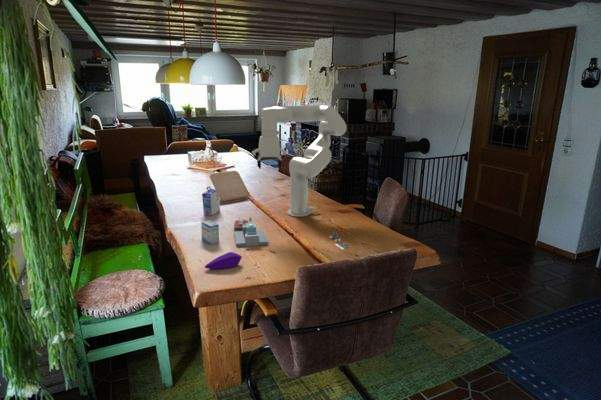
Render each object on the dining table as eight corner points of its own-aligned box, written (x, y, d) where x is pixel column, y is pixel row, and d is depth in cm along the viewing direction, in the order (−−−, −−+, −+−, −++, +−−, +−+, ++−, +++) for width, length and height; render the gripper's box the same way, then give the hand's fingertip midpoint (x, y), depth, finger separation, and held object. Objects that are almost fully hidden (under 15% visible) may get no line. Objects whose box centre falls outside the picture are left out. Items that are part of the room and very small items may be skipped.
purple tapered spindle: (202, 259, 154) (239, 248, 160) (204, 270, 155) (240, 259, 162) (205, 264, 150) (243, 253, 156) (207, 275, 151) (244, 264, 158)
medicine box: (201, 239, 182) (200, 221, 180) (210, 237, 185) (209, 219, 183) (211, 244, 177) (210, 226, 174) (219, 242, 180) (219, 224, 177)
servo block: (253, 235, 189) (253, 219, 187) (256, 243, 179) (256, 227, 177) (245, 235, 188) (245, 219, 186) (247, 244, 178) (247, 227, 176)
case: (221, 205, 234) (220, 178, 229) (204, 196, 249) (203, 171, 245) (250, 200, 246) (250, 174, 242) (233, 192, 262) (233, 168, 257)
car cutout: (324, 239, 188) (325, 230, 187) (337, 237, 191) (337, 228, 190) (341, 251, 175) (342, 241, 174) (354, 248, 178) (355, 239, 177)
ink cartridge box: (211, 209, 225) (210, 184, 220) (220, 210, 223) (219, 185, 219) (202, 214, 215) (201, 188, 211) (211, 216, 214) (211, 189, 210)
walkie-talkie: (252, 234, 191) (252, 220, 210) (252, 225, 190) (252, 212, 209) (233, 234, 190) (235, 220, 209) (233, 226, 189) (235, 212, 208)
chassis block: (263, 232, 192) (263, 223, 191) (268, 244, 178) (268, 235, 177) (234, 234, 189) (234, 225, 188) (236, 246, 175) (236, 237, 174)
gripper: (285, 132, 201) (284, 166, 206) (250, 132, 197) (251, 166, 202) (288, 134, 194) (287, 169, 199) (252, 134, 190) (252, 170, 195)
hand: (269, 168), depth 201 cm, fingers open, 9 cm apart
